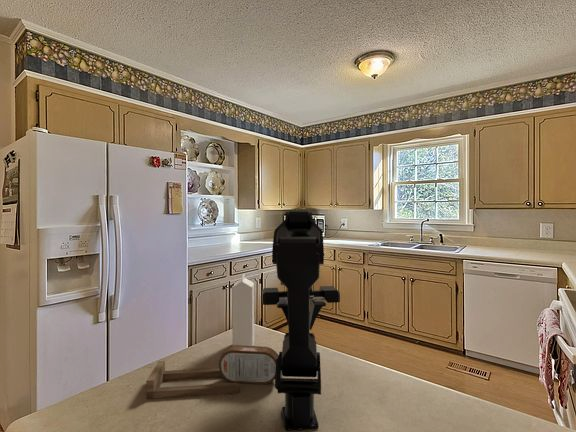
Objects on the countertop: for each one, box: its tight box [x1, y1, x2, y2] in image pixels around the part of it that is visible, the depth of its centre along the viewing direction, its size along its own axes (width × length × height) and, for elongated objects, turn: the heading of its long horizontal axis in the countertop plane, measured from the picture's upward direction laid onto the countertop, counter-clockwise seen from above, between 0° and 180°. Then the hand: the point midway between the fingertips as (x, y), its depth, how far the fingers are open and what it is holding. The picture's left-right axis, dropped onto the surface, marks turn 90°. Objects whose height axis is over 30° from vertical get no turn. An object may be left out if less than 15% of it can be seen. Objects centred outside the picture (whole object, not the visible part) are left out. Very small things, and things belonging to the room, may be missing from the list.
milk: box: [231, 272, 255, 346], centre depth 95 cm, size 6×6×22 cm
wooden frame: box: [145, 360, 240, 400], centre depth 74 cm, size 9×20×4 cm, turn 96°
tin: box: [218, 345, 279, 385], centre depth 76 cm, size 15×3×8 cm, turn 84°
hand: (300, 329), depth 77 cm, fingers open, 5 cm apart
